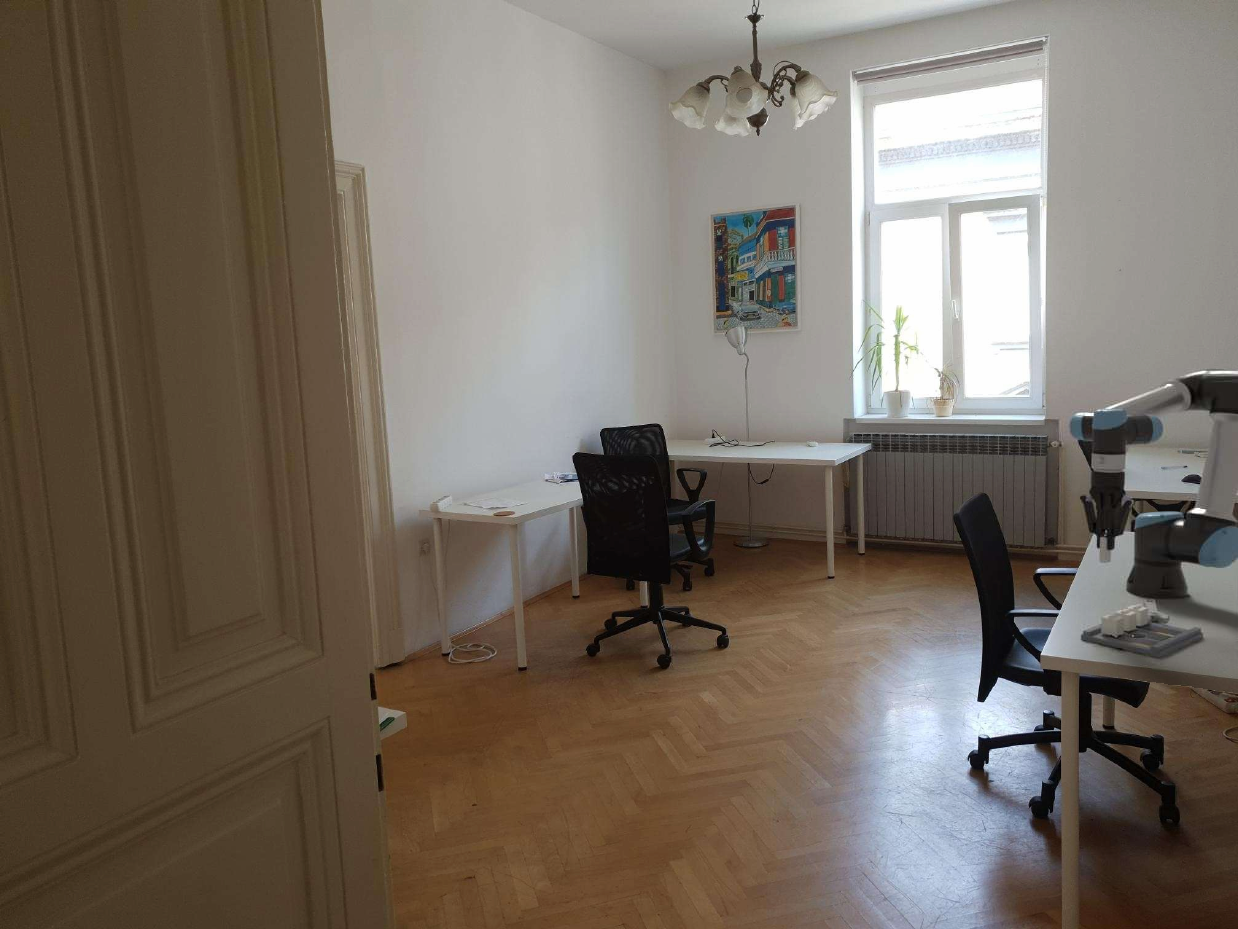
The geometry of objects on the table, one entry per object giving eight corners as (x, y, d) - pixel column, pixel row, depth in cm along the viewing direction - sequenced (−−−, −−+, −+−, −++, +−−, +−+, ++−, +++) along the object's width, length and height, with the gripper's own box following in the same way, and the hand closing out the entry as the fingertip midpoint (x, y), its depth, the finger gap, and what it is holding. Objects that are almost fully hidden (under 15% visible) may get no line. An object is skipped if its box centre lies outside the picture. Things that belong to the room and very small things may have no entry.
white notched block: (1132, 620, 226) (1133, 602, 225) (1147, 623, 223) (1148, 605, 222) (1125, 623, 224) (1126, 605, 223) (1140, 626, 221) (1141, 608, 220)
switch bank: (1125, 621, 230) (1126, 613, 230) (1203, 637, 215) (1203, 628, 215) (1080, 639, 218) (1081, 630, 218) (1159, 657, 203) (1159, 648, 203)
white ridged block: (1108, 630, 219) (1109, 611, 218) (1123, 633, 216) (1124, 615, 215) (1101, 633, 217) (1101, 614, 216) (1116, 636, 214) (1116, 617, 213)
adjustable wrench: (1142, 603, 246) (1143, 597, 245) (1170, 606, 242) (1170, 600, 242) (1138, 622, 224) (1139, 615, 224) (1168, 626, 221) (1169, 619, 221)
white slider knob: (1120, 625, 222) (1121, 607, 222) (1136, 628, 219) (1136, 610, 219) (1113, 628, 220) (1114, 610, 220) (1128, 631, 217) (1129, 613, 217)
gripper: (1074, 469, 228) (1072, 559, 231) (1127, 473, 218) (1124, 568, 220) (1089, 466, 233) (1087, 555, 235) (1142, 471, 222) (1138, 563, 225)
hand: (1105, 561), depth 228 cm, fingers closed
